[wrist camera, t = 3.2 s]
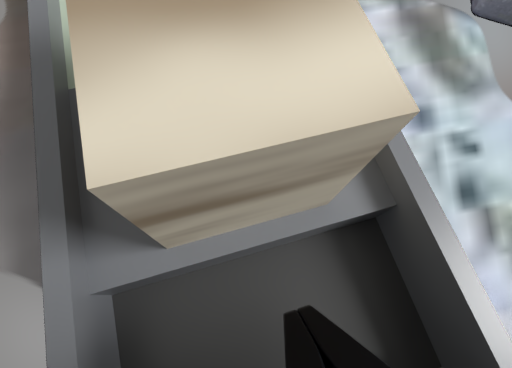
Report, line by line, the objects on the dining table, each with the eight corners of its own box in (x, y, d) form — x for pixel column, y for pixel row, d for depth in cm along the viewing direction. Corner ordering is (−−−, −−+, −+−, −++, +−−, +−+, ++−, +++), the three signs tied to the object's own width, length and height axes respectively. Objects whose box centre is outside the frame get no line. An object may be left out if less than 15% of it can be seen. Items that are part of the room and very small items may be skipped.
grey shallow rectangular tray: (461, 379, 15) (548, 410, 11) (119, 523, 12) (61, 637, 8) (252, -78, 28) (255, -146, 23) (56, -58, 25) (20, -130, 21)
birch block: (327, 204, 15) (420, 111, 8) (167, 248, 14) (86, 189, 6) (267, 53, 18) (291, -117, 11) (133, 77, 17) (54, -97, 9)
